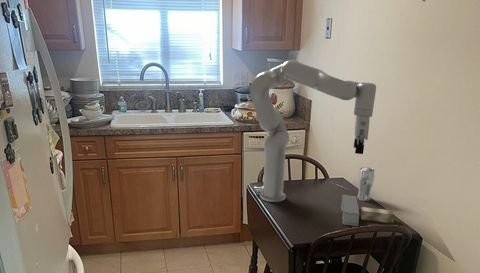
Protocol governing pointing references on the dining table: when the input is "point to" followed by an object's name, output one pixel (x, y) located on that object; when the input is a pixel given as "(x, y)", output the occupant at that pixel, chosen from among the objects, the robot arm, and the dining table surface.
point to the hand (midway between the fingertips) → (358, 150)
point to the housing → (350, 210)
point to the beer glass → (365, 183)
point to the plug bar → (377, 215)
